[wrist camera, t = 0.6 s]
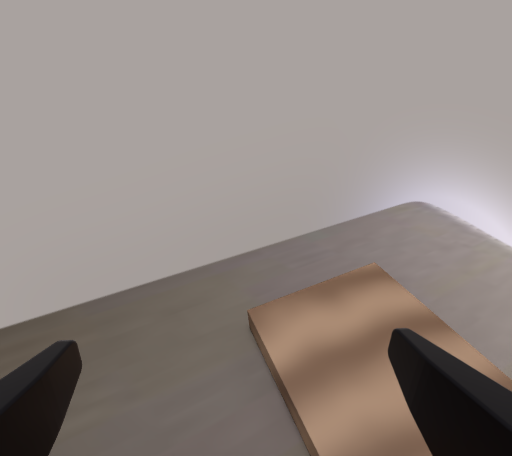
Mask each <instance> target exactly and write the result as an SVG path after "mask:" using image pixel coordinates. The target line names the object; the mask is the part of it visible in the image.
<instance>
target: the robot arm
mask: <svg viewBox="0 0 512 456" xmlns="http://www.w3.org/2000/svg"><path fill="white" fill-rule="evenodd" d="M388 357H389V360H390V363H391V365H392V368H393V370H394V373H395V375H396V378H397V380H398V383H399V385H400V388H401V391H402V393H403V396H404V398H405V401H406V403H407V405H408V408H409V410H410V412H411V414H412V416H413V418H414V420H415V422H416V424H417V426H418V428H419V430H420V432H421V434H422V436H423V438H424V440H425V442H426V444H427V446H428V448H429V450H430V452H431V454H432V456H512V391H510V390H508V389H507V388H505V387H504V386H502V385H500V384H499V383H497V382H495V381H494V380H492V379H491V378H489V377H487V376H486V375H484V374H482V373H481V372H479V371H478V370H476V369H474V368H473V367H471V366H469V365H468V364H466V363H465V362H463V361H461V360H460V359H458V358H456V357H455V356H453V355H451V354H450V353H448V352H447V351H445V350H443V349H442V348H440V347H438V346H437V345H435V344H434V343H432V342H430V341H429V340H427V339H425V338H424V337H422V336H421V335H419V334H417V333H416V332H414V331H412V330H411V329H409V328H395V329H394V330H393V331H392V334H391V338H390V342H389V346H388ZM81 369H82V361H81V357H80V353H79V349H78V346H77V343H76V342H75V341H74V340H60V341H57V342H55V343H54V344H52V345H51V346H49V347H48V348H46V349H45V350H43V351H42V352H40V353H39V354H37V355H36V356H34V357H33V358H31V359H30V360H28V361H27V362H26V363H24V364H23V365H21V366H20V367H18V368H17V369H15V370H14V371H12V372H11V373H9V374H8V375H6V376H5V377H3V378H2V379H0V456H48V455H49V453H50V451H51V449H52V446H53V444H54V442H55V440H56V438H57V435H58V433H59V431H60V428H61V426H62V423H63V421H64V418H65V415H66V412H67V409H68V407H69V404H70V401H71V398H72V395H73V393H74V390H75V387H76V384H77V381H78V379H79V376H80V373H81Z"/></svg>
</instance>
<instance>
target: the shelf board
mask: <svg viewBox="0 0 512 456" xmlns="http://www.w3.org/2000/svg"><path fill="white" fill-rule="evenodd" d="M247 312H248V319H249V326H250V329H251V331H252V333H253V336H254V338H255V340H256V342H257V344H258V346H259V348H260V350H261V352H262V355H263V357H264V359H265V361H266V363H267V365H268V367H269V369H270V371H271V373H272V376H273V378H274V380H275V382H276V384H277V386H278V388H279V390H280V392H281V395H282V397H283V399H284V401H285V403H286V405H287V407H288V409H289V411H290V413H291V416H292V418H293V420H294V422H295V424H296V426H297V428H298V430H299V432H300V435H301V437H302V439H303V441H304V443H305V445H306V447H307V449H308V451H309V453H310V456H432V454H431V452H430V450H429V448H428V446H427V444H426V442H425V440H424V438H423V436H422V434H421V432H420V430H419V428H418V426H417V424H416V422H415V420H414V418H413V416H412V414H411V412H410V410H409V408H408V405H407V403H406V401H405V398H404V396H403V393H402V391H401V388H400V385H399V383H398V380H397V378H396V375H395V373H394V370H393V368H392V365H391V363H390V360H389V357H388V346H389V342H390V338H391V334H392V331H393V330H394V329H395V328H409V329H411V330H412V331H414V332H416V333H417V334H419V335H421V336H422V337H424V338H425V339H427V340H429V341H430V342H432V343H434V344H435V345H437V346H438V347H440V348H442V349H443V350H445V351H447V352H448V353H450V354H451V355H453V356H455V357H456V358H458V359H460V360H461V361H463V362H465V363H466V364H468V365H469V366H471V367H473V368H474V369H476V370H478V371H479V372H481V373H482V374H484V375H486V376H487V377H489V378H491V379H492V380H494V381H495V382H497V383H499V384H500V385H502V386H504V387H505V388H507V389H508V390H510V391H512V380H511V379H510V378H509V377H507V376H506V375H505V374H504V373H503V372H502V371H500V370H499V369H498V368H497V367H496V366H495V365H493V364H492V363H491V362H490V361H489V360H488V359H486V358H485V357H484V356H483V355H482V354H481V353H479V352H478V351H477V350H476V349H475V348H474V347H472V346H471V345H470V344H469V343H468V342H467V341H466V340H464V339H463V338H462V337H461V336H460V335H459V334H457V333H456V332H455V331H454V330H453V329H452V328H450V327H449V326H448V325H447V324H446V323H445V322H443V321H442V320H441V319H440V318H439V317H438V316H436V315H435V314H434V313H433V312H432V311H431V310H429V309H428V308H427V307H426V306H425V305H424V304H422V303H421V302H420V301H419V300H418V299H417V298H415V297H414V296H413V295H412V294H411V293H410V292H408V291H407V290H406V289H405V288H404V287H403V286H402V285H400V284H399V283H398V282H397V281H396V280H395V279H393V278H392V277H391V276H390V275H389V274H388V273H386V272H385V271H384V270H383V269H382V268H381V267H379V266H378V265H377V264H376V263H375V262H374V263H371V264H369V265H366V266H363V267H361V268H358V269H356V270H353V271H350V272H348V273H345V274H342V275H340V276H337V277H334V278H332V279H329V280H326V281H324V282H321V283H318V284H316V285H313V286H310V287H308V288H305V289H302V290H300V291H297V292H294V293H292V294H289V295H286V296H284V297H281V298H278V299H276V300H273V301H271V302H268V303H265V304H263V305H260V306H257V307H255V308H252V309H249V310H247Z"/></svg>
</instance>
